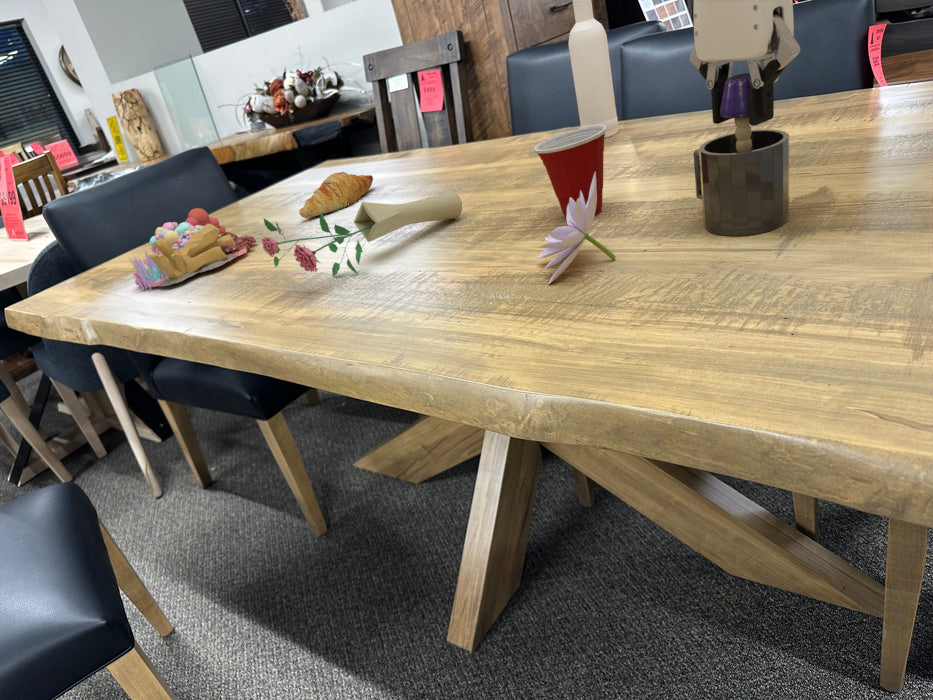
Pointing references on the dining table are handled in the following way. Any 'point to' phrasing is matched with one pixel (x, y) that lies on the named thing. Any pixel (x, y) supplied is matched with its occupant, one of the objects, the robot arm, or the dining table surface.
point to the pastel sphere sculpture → (188, 250)
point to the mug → (744, 183)
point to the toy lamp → (738, 108)
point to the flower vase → (372, 226)
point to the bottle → (592, 70)
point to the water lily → (573, 232)
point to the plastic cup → (574, 163)
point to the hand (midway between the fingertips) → (742, 119)
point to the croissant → (336, 193)
